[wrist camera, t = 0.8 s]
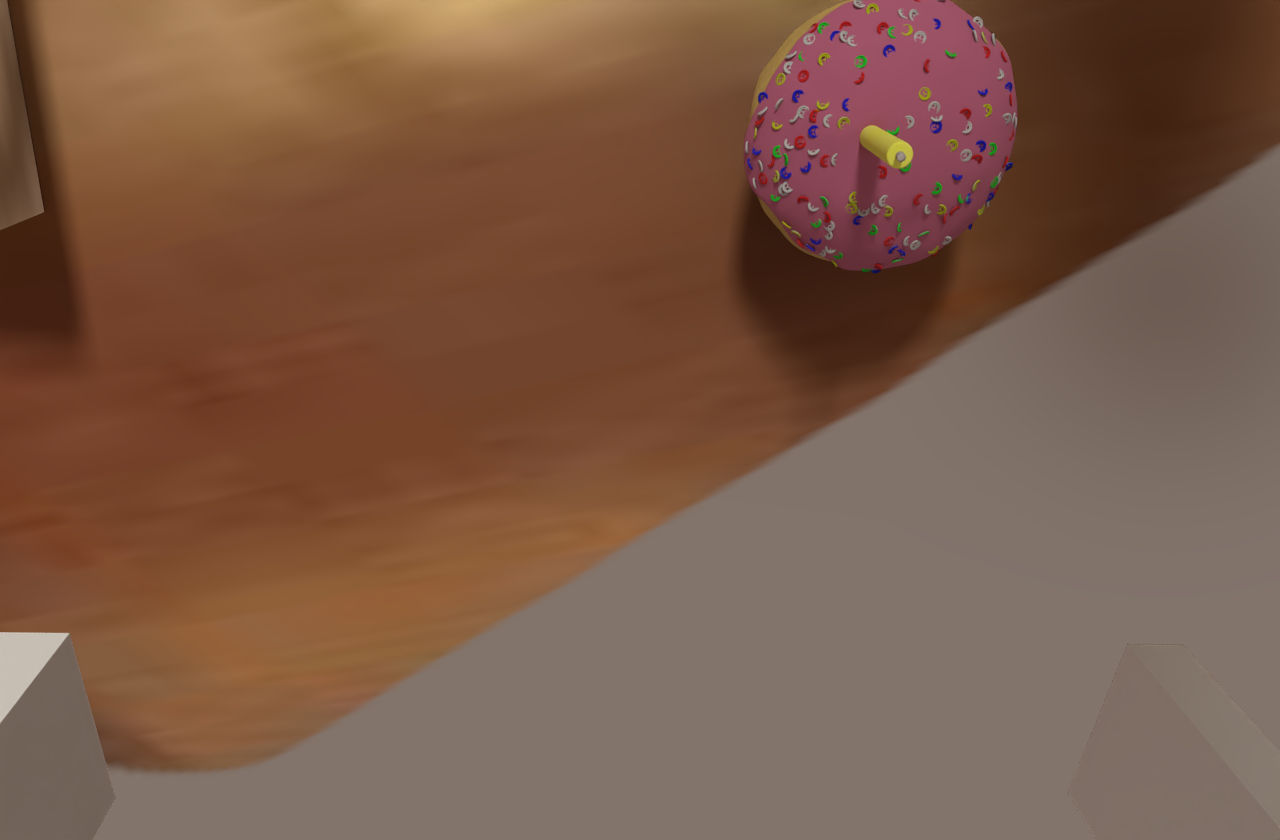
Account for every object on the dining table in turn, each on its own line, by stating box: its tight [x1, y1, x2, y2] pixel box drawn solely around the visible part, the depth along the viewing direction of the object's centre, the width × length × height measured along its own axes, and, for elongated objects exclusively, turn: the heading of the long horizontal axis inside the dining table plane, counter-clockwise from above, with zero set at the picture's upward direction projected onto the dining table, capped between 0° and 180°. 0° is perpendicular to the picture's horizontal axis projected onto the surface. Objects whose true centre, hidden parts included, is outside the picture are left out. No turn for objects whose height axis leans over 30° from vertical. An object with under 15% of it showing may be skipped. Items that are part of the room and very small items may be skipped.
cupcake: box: [744, 0, 1017, 273], centre depth 27 cm, size 9×8×12 cm
